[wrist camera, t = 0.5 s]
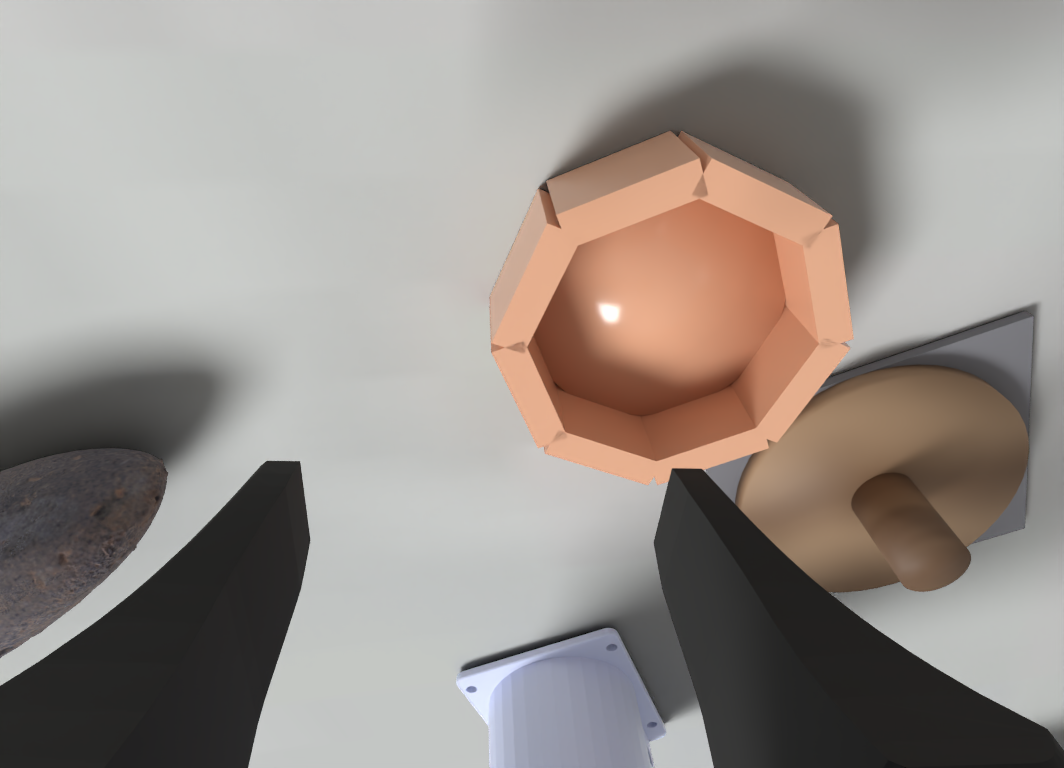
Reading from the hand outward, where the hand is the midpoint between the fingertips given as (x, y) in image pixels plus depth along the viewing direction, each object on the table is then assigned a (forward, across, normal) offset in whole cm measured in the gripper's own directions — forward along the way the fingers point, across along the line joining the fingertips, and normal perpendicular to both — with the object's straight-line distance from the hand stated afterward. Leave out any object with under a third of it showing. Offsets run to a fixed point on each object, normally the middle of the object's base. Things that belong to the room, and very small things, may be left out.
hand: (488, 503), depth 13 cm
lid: (+10, -16, +7) cm, 20 cm away
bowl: (+10, -6, 0) cm, 11 cm away
